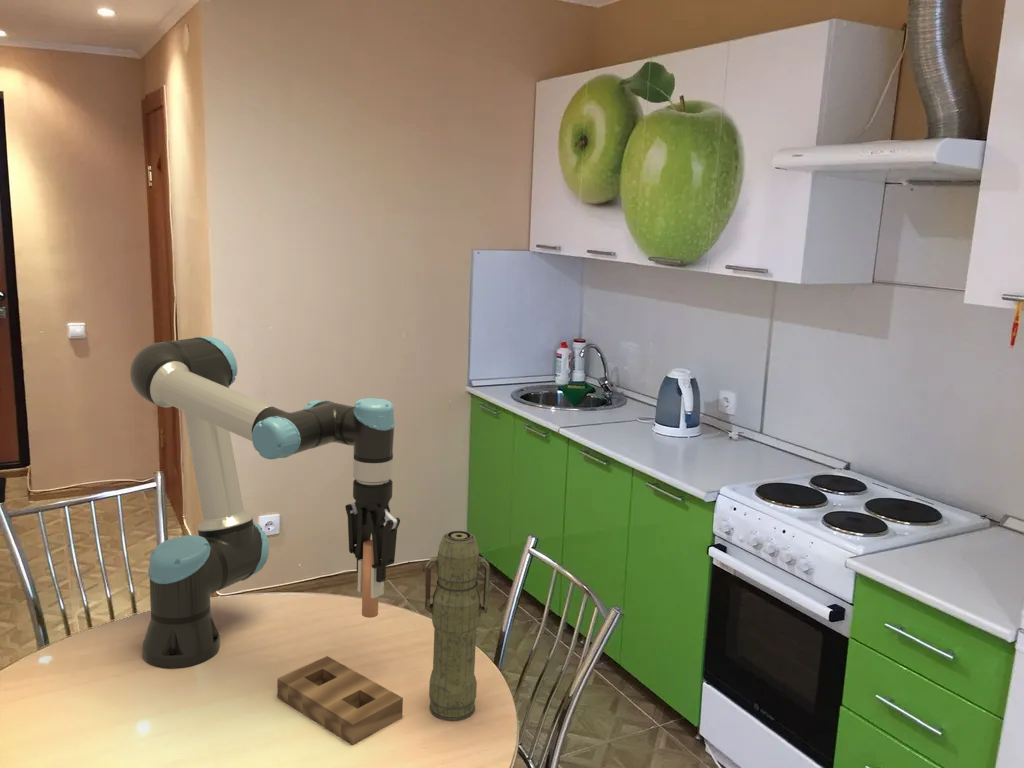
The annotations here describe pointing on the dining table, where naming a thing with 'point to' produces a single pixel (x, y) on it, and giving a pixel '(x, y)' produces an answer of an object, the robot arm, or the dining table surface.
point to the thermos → (455, 624)
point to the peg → (368, 582)
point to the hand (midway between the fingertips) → (370, 592)
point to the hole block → (340, 699)
